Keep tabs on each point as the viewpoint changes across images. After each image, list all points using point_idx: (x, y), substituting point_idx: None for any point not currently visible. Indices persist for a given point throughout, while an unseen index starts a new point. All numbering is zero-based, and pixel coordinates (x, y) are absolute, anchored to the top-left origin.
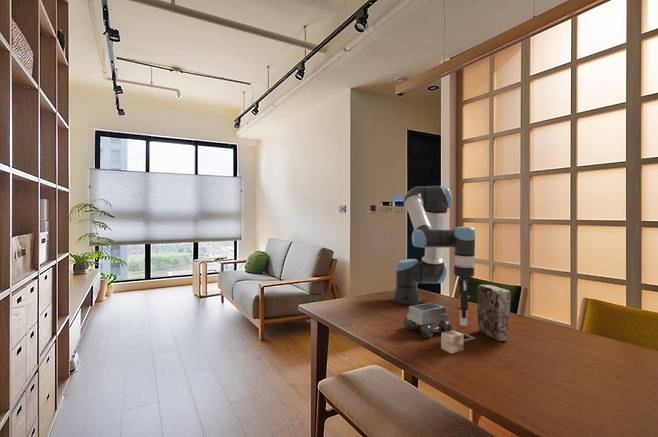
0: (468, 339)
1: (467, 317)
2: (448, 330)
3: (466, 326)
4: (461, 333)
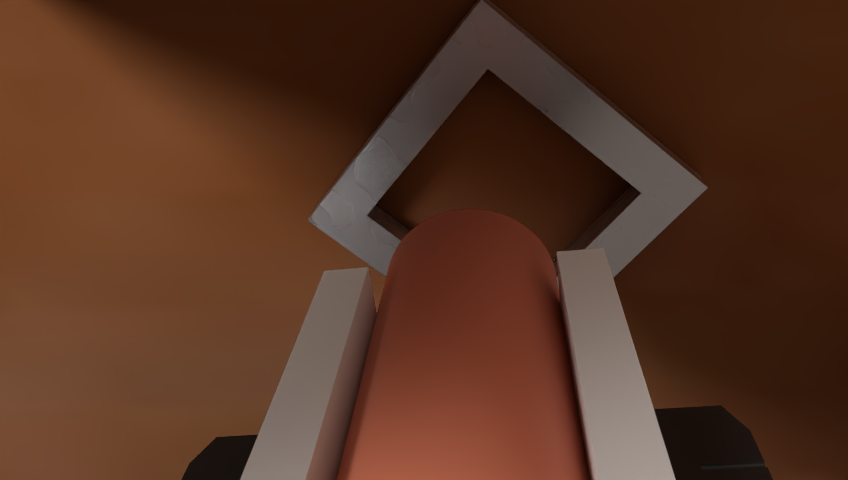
0: (611, 122)
1: (482, 341)
2: None
3: (522, 245)
4: (358, 237)
